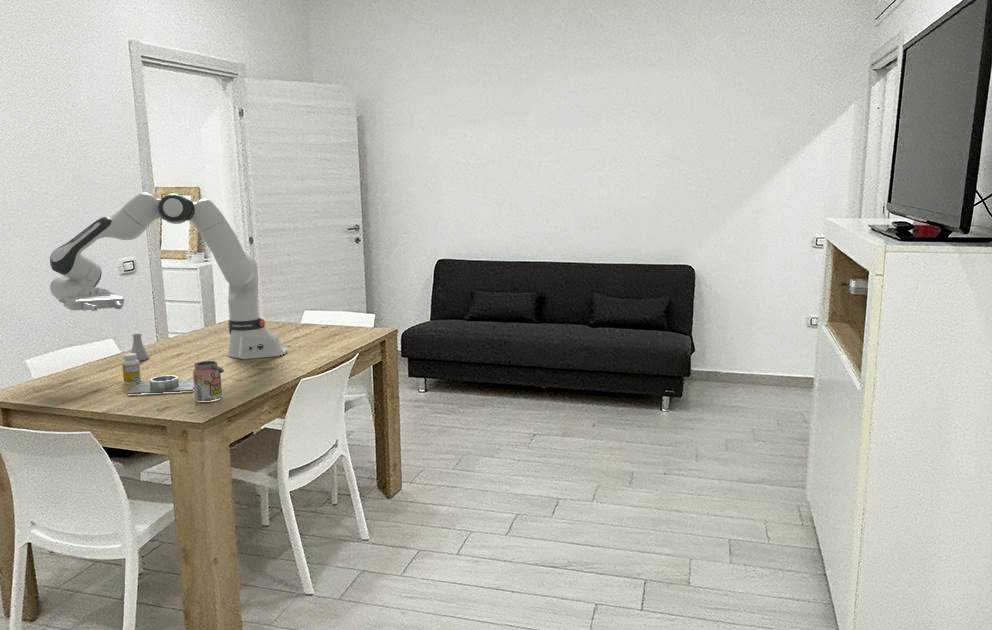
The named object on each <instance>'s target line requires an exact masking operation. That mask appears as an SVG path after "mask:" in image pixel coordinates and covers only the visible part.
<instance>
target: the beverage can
mask: <svg viewBox="0 0 992 630" xmlns="http://www.w3.org/2000/svg"><path fill="white" fill-rule="evenodd" d="M223 373H224V369H223V368H222V367H220V366H218V362H217V361H215V360H205V361H198V362H194V370H193V371H192V379H193V380H194V391H193V393H194V400H195V401H196V400H197V401H211V400H215V399H219V398H221V397H222V398H223V390H222V378H221V374H223ZM222 398H221V399H222ZM197 401H196V402H197Z"/></svg>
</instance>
